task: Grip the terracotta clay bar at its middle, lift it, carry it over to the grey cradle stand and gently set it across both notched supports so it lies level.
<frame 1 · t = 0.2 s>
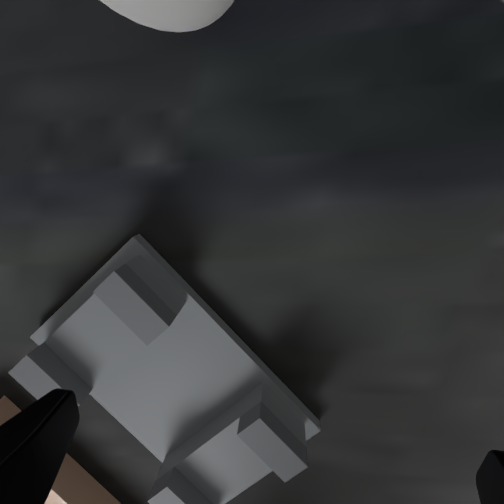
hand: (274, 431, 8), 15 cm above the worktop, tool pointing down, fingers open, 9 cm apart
clay bar: (60, 471, 29), on the worktop
grey cradle stand: (179, 375, 26), on the worktop
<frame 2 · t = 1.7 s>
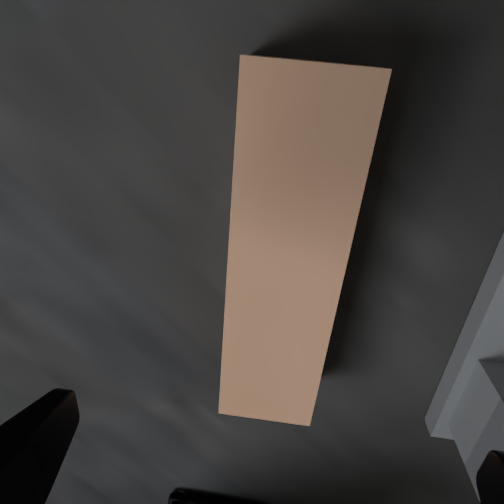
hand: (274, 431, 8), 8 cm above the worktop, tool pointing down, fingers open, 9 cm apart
clay bar: (285, 246, 16), on the worktop
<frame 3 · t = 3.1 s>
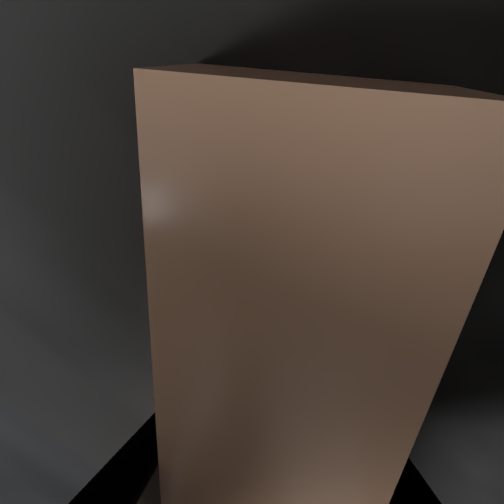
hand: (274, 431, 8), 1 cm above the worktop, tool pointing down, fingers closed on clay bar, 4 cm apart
clay bar: (276, 381, 10), on the worktop, touching gripper
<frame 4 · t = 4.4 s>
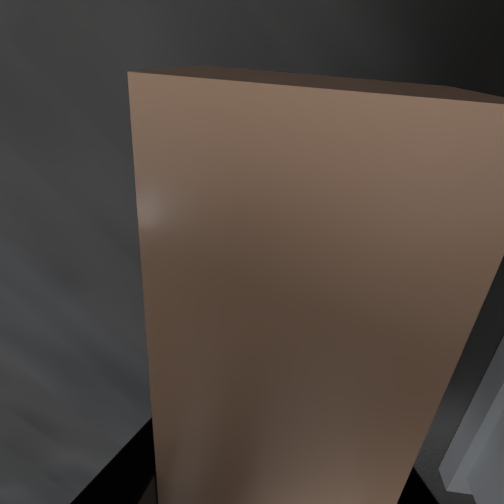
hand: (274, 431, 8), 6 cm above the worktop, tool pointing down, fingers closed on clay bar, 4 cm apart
clay bar: (276, 387, 9), point 5 cm above the worktop, touching gripper
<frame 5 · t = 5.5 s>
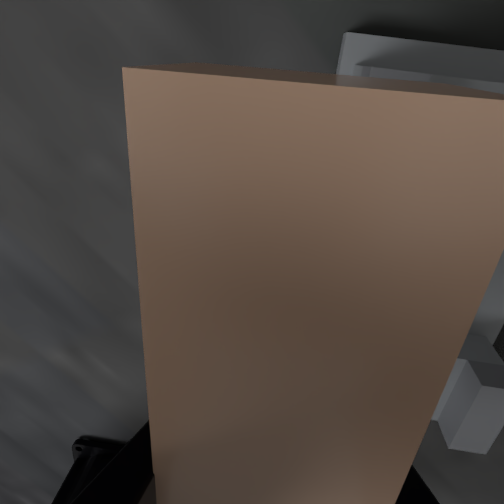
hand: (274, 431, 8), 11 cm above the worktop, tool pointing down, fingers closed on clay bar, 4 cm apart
clay bar: (274, 386, 9), point 10 cm above the worktop, touching gripper
grey cradle stand: (409, 251, 18), on the worktop
when the fingers open (5 cm above the worktop, at t = 7.1 s): clay bar stays where it is, resting on grey cradle stand.
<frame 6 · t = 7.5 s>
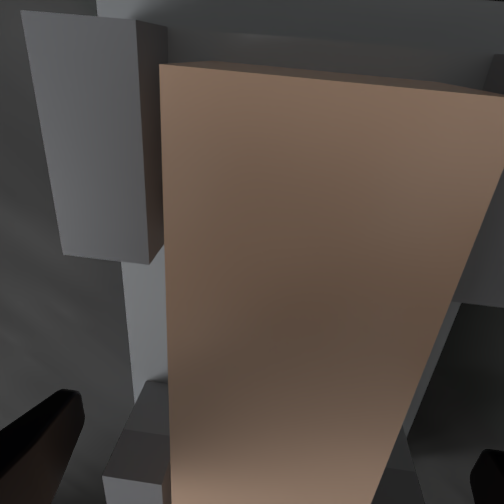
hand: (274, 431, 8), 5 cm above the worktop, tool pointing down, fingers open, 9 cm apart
clay bar: (278, 364, 10), point 3 cm above the worktop, touching grey cradle stand
grey cradle stand: (282, 300, 13), on the worktop
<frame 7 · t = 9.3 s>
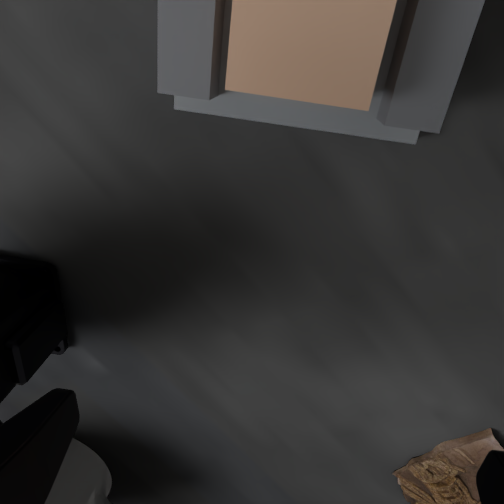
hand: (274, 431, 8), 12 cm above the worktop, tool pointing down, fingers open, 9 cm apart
coffee mug: (74, 471, 31), on the worktop
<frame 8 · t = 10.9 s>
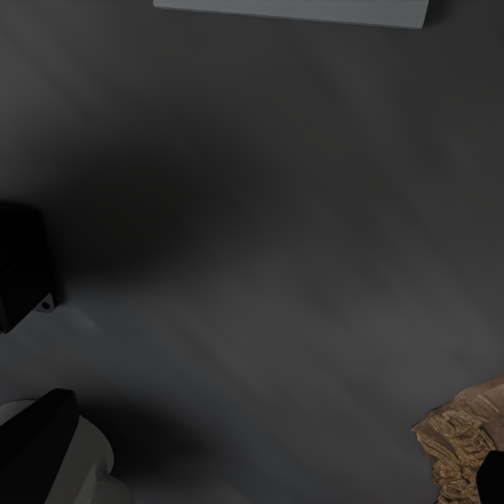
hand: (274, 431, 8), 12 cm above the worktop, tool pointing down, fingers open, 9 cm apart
wooden fragment: (500, 498, 28), on the worktop
coffee mug: (74, 448, 30), on the worktop
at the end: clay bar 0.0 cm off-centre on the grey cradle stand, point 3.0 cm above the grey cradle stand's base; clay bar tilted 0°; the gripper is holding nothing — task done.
